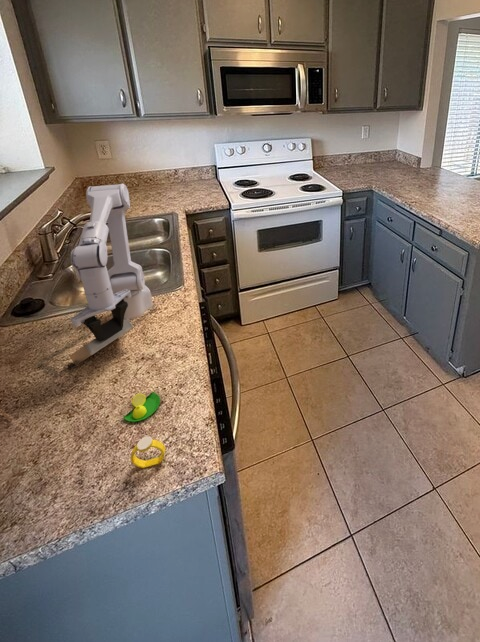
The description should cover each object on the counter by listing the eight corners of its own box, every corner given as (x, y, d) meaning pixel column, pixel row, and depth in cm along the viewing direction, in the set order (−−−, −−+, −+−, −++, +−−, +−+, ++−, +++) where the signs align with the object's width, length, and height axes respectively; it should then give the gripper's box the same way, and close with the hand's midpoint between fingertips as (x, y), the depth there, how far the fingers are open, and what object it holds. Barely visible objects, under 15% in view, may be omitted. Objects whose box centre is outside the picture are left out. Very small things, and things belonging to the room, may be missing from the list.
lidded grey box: (75, 365, 96) (65, 349, 96) (117, 338, 107) (107, 323, 106) (94, 353, 89) (82, 336, 89) (137, 325, 99) (126, 309, 99)
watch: (168, 453, 74) (163, 432, 72) (165, 466, 71) (160, 445, 69) (136, 460, 72) (130, 439, 70) (133, 474, 70) (126, 452, 68)
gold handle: (68, 369, 96) (67, 365, 95) (120, 335, 108) (119, 332, 108) (71, 370, 95) (70, 367, 95) (123, 336, 108) (122, 333, 107)
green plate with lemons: (117, 409, 84) (115, 400, 83) (151, 388, 89) (149, 379, 88) (131, 430, 79) (128, 420, 78) (166, 406, 84) (164, 397, 83)
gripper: (78, 308, 82) (91, 355, 87) (134, 278, 94) (143, 321, 99) (60, 300, 85) (74, 346, 90) (117, 273, 97) (127, 315, 102)
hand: (109, 333), depth 94 cm, fingers closed on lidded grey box, 5 cm apart
